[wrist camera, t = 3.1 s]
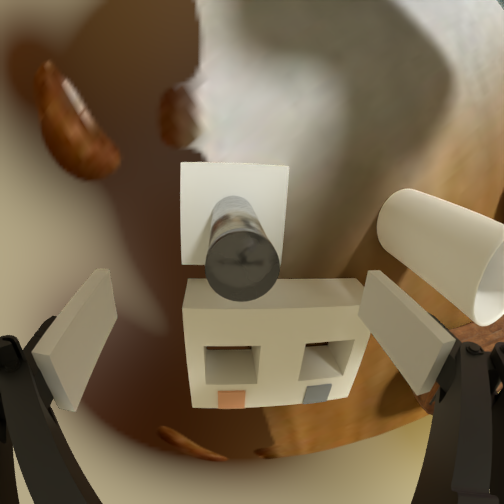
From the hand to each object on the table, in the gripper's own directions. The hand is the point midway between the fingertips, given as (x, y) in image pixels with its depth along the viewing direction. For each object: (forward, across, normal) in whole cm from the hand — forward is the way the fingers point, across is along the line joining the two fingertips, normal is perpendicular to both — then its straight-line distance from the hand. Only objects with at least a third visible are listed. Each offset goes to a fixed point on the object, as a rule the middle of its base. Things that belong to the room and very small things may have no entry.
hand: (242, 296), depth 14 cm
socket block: (+16, +5, -14) cm, 21 cm away
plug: (+15, 0, 0) cm, 15 cm away
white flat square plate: (+16, 0, 0) cm, 16 cm away
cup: (+16, +20, 0) cm, 26 cm away
